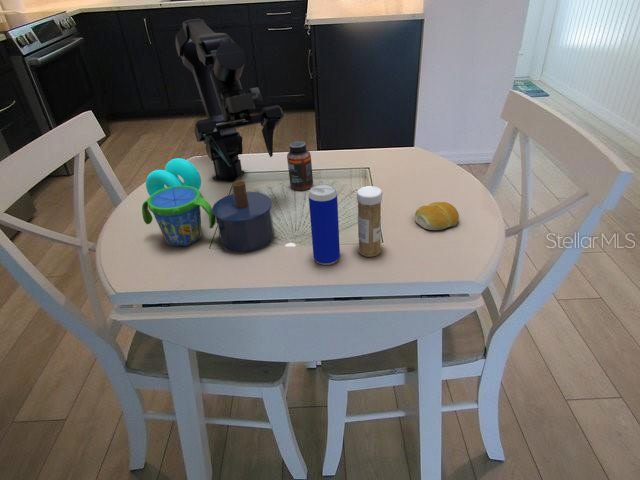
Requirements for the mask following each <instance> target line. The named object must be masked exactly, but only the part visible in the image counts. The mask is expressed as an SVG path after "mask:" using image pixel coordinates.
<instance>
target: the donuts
mask: <svg viewBox="0 0 640 480" xmlns="http://www.w3.org/2000/svg"><path fill="white" fill-rule="evenodd" d="M180 177H181V178H180ZM173 186H191V187H194V188H196V189H198V190H199V191H200V189H201V186H202V177H201V174H200V172H199V170H198V168H197V167H196V166H195V165H194V164H193V163H192V162H190V161H189V160H187V159H185V158H181V157H175V158H172V159H170V160H169V161H168V162H167V163H166V165H165V167H164V169H155V170H153V171H151V172H149V174H148V175H147V177H146V180H145V188H146V191H147V194H148V196H149V197H150V196H151V195H152V194H154V193H155V192H157V191H159V190H161V189H165V188H168V187H173Z"/></svg>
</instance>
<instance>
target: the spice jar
mask: <svg viewBox="0 0 640 480" xmlns="http://www.w3.org/2000/svg"><path fill="white" fill-rule="evenodd" d="M382 200H383V191H382V189H381V188H379V187H378V186H375V185H374V186H373V185H366V186H362V187H359V188H358V189H357V191H356V201H357V235H358V236H357V237H358V249H357V250H358V253H359V254H360V255H361V256H363V257H367V258H372V257H376V256H378V255H380V254H381V252H382V248H381V238H382V216H381V212H382V211H381V210H382V207H381V206H382V205H381V204H382Z"/></svg>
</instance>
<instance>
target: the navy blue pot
mask: <svg viewBox="0 0 640 480" xmlns="http://www.w3.org/2000/svg"><path fill="white" fill-rule="evenodd" d="M272 213H273V212H272V208H271V209H270V211H269V212H268V213H266V214H265V215H263V216H262V217H259V218H257V219H254V220H251V221H246V222H237V223H233V222H225V221H221V220H219V219H217V218H216V217H215V218H216V219H215V222H216V226H217V228H218V229H217V231H218V234H219V240H220V242H221V245H222V247H223V248H224V249H226V250H227V251H230V252H232V253H242V254H243V253H252V252H256V251H259V250H261V249H264V248H266V247H267V246H268V245H269V244H271V243H272V241H274V237H275V229H274V222H273V214H272Z"/></svg>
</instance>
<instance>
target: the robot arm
mask: <svg viewBox="0 0 640 480" xmlns="http://www.w3.org/2000/svg"><path fill="white" fill-rule="evenodd" d="M175 48H176V52H177V56H178V57H179V58H181V61H182V64H183V66H184V67H185V68H187V70H189V71H190V72H191V73H192V75H193V78H194V81H195V84H196V87H197V90H198V93H199V97H200V100H201V102H202V106H203V109H204V112H205V114H206V115H205V116H206V118H204V119H199V120H196V122H195V124H194V130H193V132H194V135H195V136H194V137H195V139H196V142H197V143H202V142H203V144H204V145H205V151H206V155H207V157H208V158H209V159H210V161H211V162H212V164H213V169H214V173H215V174H214V176H212V180H214V181H221V182H229V183H233V182H235V181H237V179H239V178H240V177H241V176H242V175H244V174H245V170H243V169H242V162H241V159H240V158H239V155H243V136H241V133H240V132H239V131H238V130H237V129H239V128H243V127H248V126H253V125H259V124H260V126H261V127H262V129H261V133H262V136H263V140H264V144H265V148H266V150H267V151H266V152H267V154H268V156H269V157H270V158H272V157H273V155H274V144H273V143H274V130H275V129H276V128H277V126H278V125H280V124H281V122H282V120H283V119H284V117H285V114H284V111H283V108H282V107H280V105H278V104H276V105H270V106H265V107H262V109H261V111H260V113H257V114H253V113H254V110H255V109H256V105H257V104H262V103H263V97H262V93H261V90H260V88H259V86H256V87H251V88H248V90H247V91H248V93H246V91H245V89H244V88H243V87H242V83H241V81H240V78H241V77H242V74H243V71H244V67H245V64H246V61H247V56H246V52H245V50H244V49H243V48H242V47H241V45H239V44H237V43H236V42H235V41H234V39H232V38H231V37H230V35H228V34H227V33H225V32H215V31H213V29H211V28H210V27H209V26H208V25H207V24H206V21H205V19H201V18H194V19H188V20H185V21H183V22H182V27H181V28H180V30H179V31H178V32H177V33H176V34H175ZM210 66H213V67H212V68H211V69H210ZM251 114H253V115H251Z"/></svg>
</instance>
